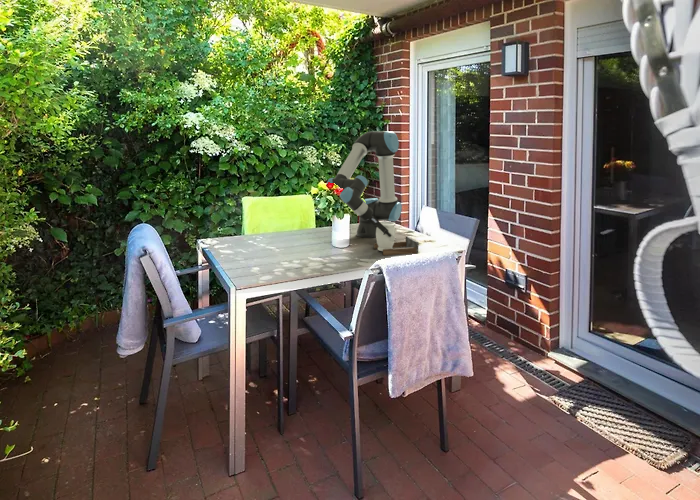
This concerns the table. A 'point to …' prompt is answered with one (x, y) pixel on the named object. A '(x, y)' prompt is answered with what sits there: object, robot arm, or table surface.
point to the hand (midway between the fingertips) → (390, 237)
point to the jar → (383, 239)
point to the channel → (408, 243)
